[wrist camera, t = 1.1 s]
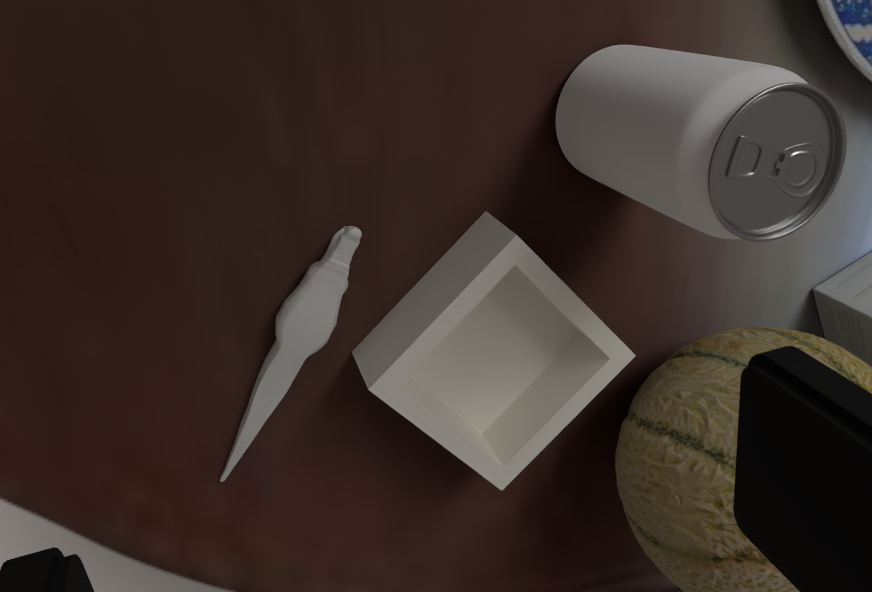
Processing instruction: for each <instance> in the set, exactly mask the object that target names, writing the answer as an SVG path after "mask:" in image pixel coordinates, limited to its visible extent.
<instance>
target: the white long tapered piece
mask: <svg viewBox="0 0 872 592" xmlns="http://www.w3.org/2000/svg"><path fill="white" fill-rule="evenodd" d="M345 227H346V226H345ZM361 236H362V233H361V231H360V229H358V228H357V227H354V226H348V227H346V228H345V229H344V227H343V228H342V229H341V230H340V231H338V232H337V233H336V234H335V235H334V236H333V237H332V240H331V242H330V245H329V247H328V249H327V251H326V252H325V254H324V256H323V257H322V259H321V260H320V261H318V262H315V263H314V264H312V265H311V266H309V268H308V270H307V272H306V274H305V276H304V278H303V279H302V281H301V282H300V284H299V285H298V286H296V288H295V290H294V291H293V292H292V293H291V294H290V295H289V296H288V297H287V298H286V299H285V301H284V303H283V305H282V307H281V309H280V310H279V312H278V314H277V315H276V331H275V332H276V339H277V340H276V341H275V343H274V345H273V346H272V348H271V350H270V351H269V353H268V355H267V356H266V358H265V361H264V363H263V365H262V367H261V370H260V372H259V374H258V377H257V380H256V382H255V385H254V388H253V391H252V394H251V397H250V400H249V403H248V406H247V409H246V411H245V414H244V416H243V419H242V421H241V424H240V427H239V430H238V433H237V437H236V440H235V443H234V445H233V448H232V450H231V453H230V456H229V458H228V461H227V464H226V466H225V469H224V471H223V473H222V475H221V478H220V481H221V482H223V481H224V480H225V479H226V478H227V476H228V475H229V473H230V472H231V471H232V469H233V468H234V466H235V465H236V463H237V462H238V461H239V459H240V458H241V456H242V455H243V454H244V452H245V451H246V449H247V448H248V446H249V445H250V444H251V442H252V441H253V439H254V438H255V436H256V435H257V433H258V432H259V430H260V429H261V427H262V426H263V424H264V423H265V421H266V420H267V419H268V417H269V416H270V415H271V413H272V412H273V411H274V409H275V408H276V406H277V405H278V404H279V402H280V401H281V400H282V398H283V397H284V395H285V394H286V392H287V391H288V389H289V387H290V385H291V384H292V382H293V380H294V378H295V377H296V375H297V373H298V371H299V370H300V368H301V366H302V365H303V363H304V361H305V359H306V358H307V357H308V356H310V355H312V354H313V353H315V352H317V351H318V350H319V349H321V348H322V347H323V346H324V345H325V344H326V343H327V341H328V339H329V337H330V335H331V333H332V331H333V329H334V328H335V326H336V323H337V317H338V311H339V307H340V302H341V298H342V295H343V293H344V292H345V291H346V289H347V287H348V280H347V277H348V274H349V269H350V267H349V265H350V262H351V259H352V256H353V253H354V251H355V249H356V248H357V247H358V245H359V244H360V241H359V240H360V238H361Z"/></svg>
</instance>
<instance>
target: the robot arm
mask: <svg viewBox="0 0 872 592" xmlns="http://www.w3.org/2000/svg"><path fill="white" fill-rule="evenodd" d="M733 511H734V517H735V520H736V523H737V525H738V527H739V529H740V530H741V532H742V533H743V534H744V535H745V536H746V537H747V538H748V540H749V541H750V542H751V543H752V544H753V545H754V546H755V547H756V548H757V549H758V550H759V551H760V552H761V553H762V554H763V555H764V556H765V557H766V558H767V559H768V560H769V561H770V562H771V563H772V564H773V565H774V566H775V567H776V568H777V569H778V570H779V571H780V572H781V573H782V574H783V575H784V576H785V577H786V578H787V579H788V580H789V581H790V582H791V583H792V584H793V585H794V586H795V587H796V588H797V589H798V590H799V592H872V394H871V393H870V392H868V391H867V390H865V389H863V388H862V387H860V386H859V385H857V384H855V383H854V382H852V381H850V380H849V379H847V378H846V377H844V376H842V375H841V374H839V373H838V372H836V371H834V370H833V369H831V368H829V367H828V366H826V365H825V364H823V363H821V362H820V361H818V360H817V359H815V358H813V357H812V356H810V355H809V354H807V353H805V352H804V351H802V350H800V349H799V348H796V347H794V346H785V347H781V348H777V349H774V350H770V351H766V352H763V353H759V354H756V355H754V356H753V357H751V359H750V361H749V363H748V367H746V368H745V369H744V370H743V371H742V373H741V380H740V398H739V416H738V434H737V452H736V469H735V487H734V505H733ZM0 592H94V590H93V588H92V585H91V583H90V580H89V578H88V576H87V573H86V571H85V568H84V566H83V563H82V561H81V559H80V558H79V556H78V555H76V554H74V555H70V556H66V557H64V556H63V554H62V552H61V551H60V550H59V549H58V548H50V549H47V550H43V551H40V552H36V553H32V554H28V555H25V556H21V557H17V558H14V559H10V560H7V561H6V562H4V563H3V565H2V567H1V570H0Z"/></svg>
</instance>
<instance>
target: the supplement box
mask: <svg viewBox="0 0 872 592" xmlns="http://www.w3.org/2000/svg"><path fill="white" fill-rule="evenodd" d="M813 293H814V298H815V302H816V306H817V309H818V313H819V317H820V321H821V325H822V328H823V332H824V337H825V339H826V340H828V341H830V342H832V343H834V344H836V345H839V346H841V347H842V348H844V349H846V350H847V351H849V352H850V353H852V354H853V355H855V356H856V357H858V358H859V359H861V360H862V361H864V362H865V363H867V364H868V365H869V366H871V367H872V252H870V253H868V254H867V255H865V256H864V257H862V258H861V259H859V260H857V261H856V262H854V263H853V264H851V265H850V266H848V267H846V268H845V269H843V270H842V271H840V272H838V273H837V274H835V275H834V276H832V277H830V278H829V279H827V280H826V281H824V282H823V283H821V284H819V285H818V286H816V287H815V288H813Z"/></svg>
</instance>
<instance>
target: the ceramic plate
mask: <svg viewBox="0 0 872 592" xmlns="http://www.w3.org/2000/svg"><path fill="white" fill-rule="evenodd" d="M816 1H817V3H818V6H819V8H820V10H821V13H822V15H823V18H824V20H825V22H826V24H827V26H828V28H829V30H830V32H831V33H832V35H833V37H834V39H835V41H836V42H837V44H838V45H839V47H840V48H841V49H842V51H843V52H844V54H845V55H846V56H847V58H848V59H849V60H850V62H851V63H852V64H853V65H854V66H855V67H856V68H857V69H858V70H859V71H860V72H861V73H862V74H863V75H864V76H865V77H866V78H867V79H869V80H870V81H871V82H872V0H816Z"/></svg>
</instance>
